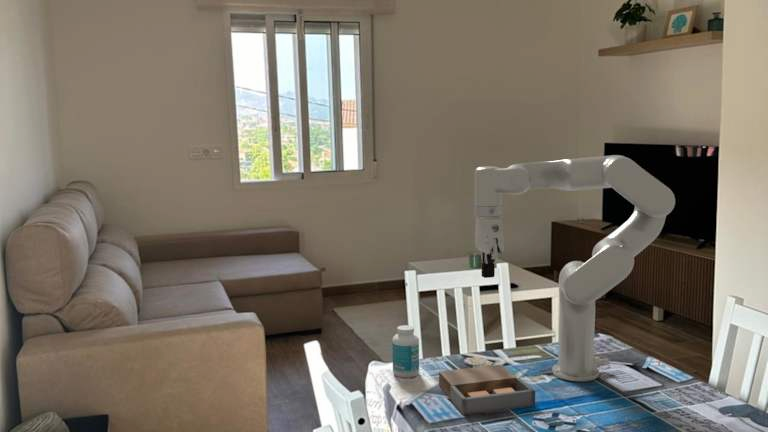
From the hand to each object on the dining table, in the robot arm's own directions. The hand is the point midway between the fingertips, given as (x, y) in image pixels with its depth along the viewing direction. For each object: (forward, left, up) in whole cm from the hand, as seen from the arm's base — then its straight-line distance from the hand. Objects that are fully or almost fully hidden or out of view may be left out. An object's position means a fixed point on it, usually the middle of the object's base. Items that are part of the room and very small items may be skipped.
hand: (488, 276), depth 193 cm
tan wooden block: (+8, +12, -27) cm, 31 cm away
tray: (+8, +22, -27) cm, 36 cm away
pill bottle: (+23, -4, -27) cm, 36 cm away
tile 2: (+4, +22, -24) cm, 33 cm away
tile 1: (+11, +22, -24) cm, 35 cm away
